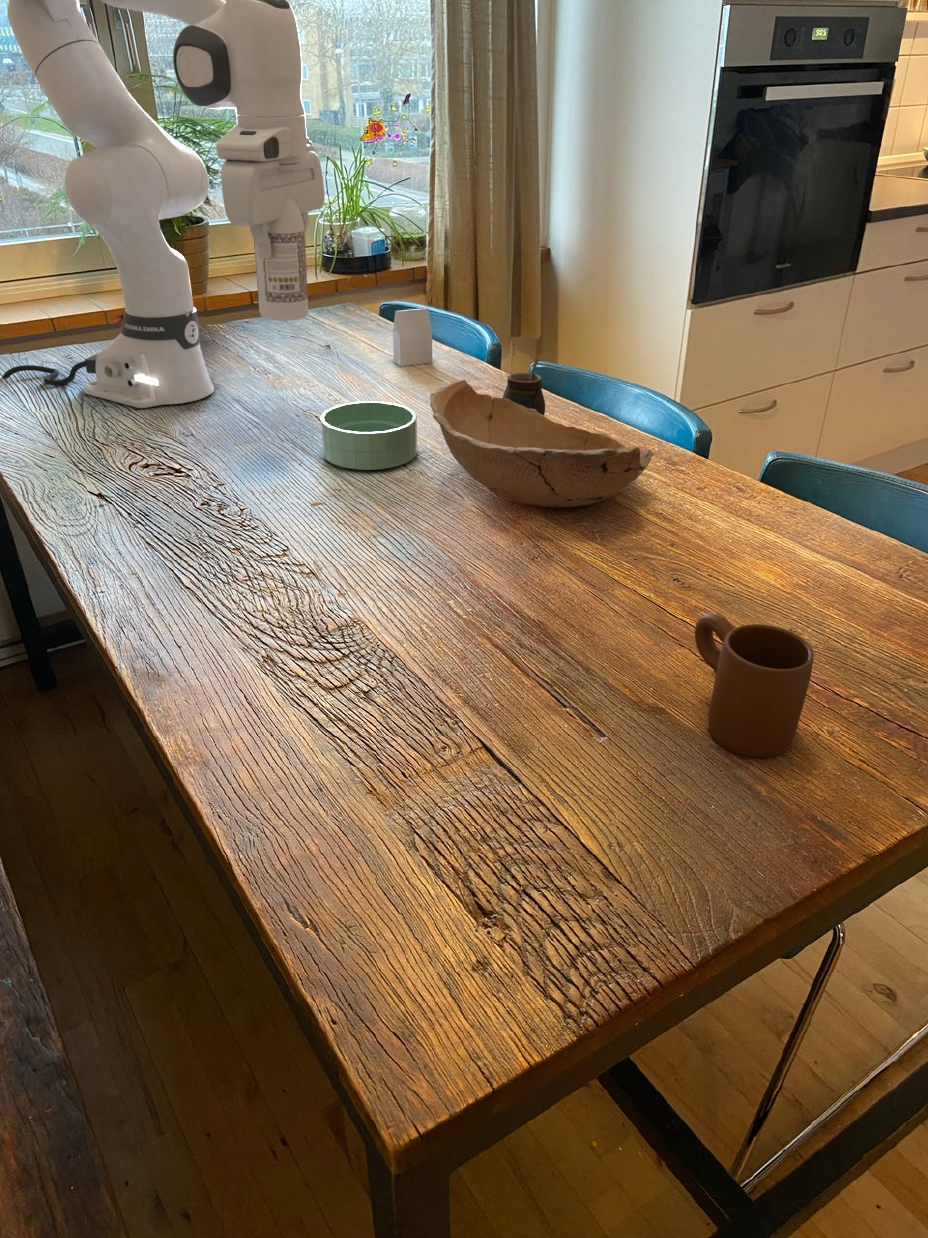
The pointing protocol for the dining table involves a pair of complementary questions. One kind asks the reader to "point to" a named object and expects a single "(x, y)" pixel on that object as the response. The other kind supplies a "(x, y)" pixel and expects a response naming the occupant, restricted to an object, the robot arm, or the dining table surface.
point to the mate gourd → (526, 390)
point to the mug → (754, 684)
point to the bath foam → (284, 269)
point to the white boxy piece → (412, 337)
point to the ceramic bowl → (531, 451)
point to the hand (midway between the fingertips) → (282, 252)
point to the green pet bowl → (369, 435)
